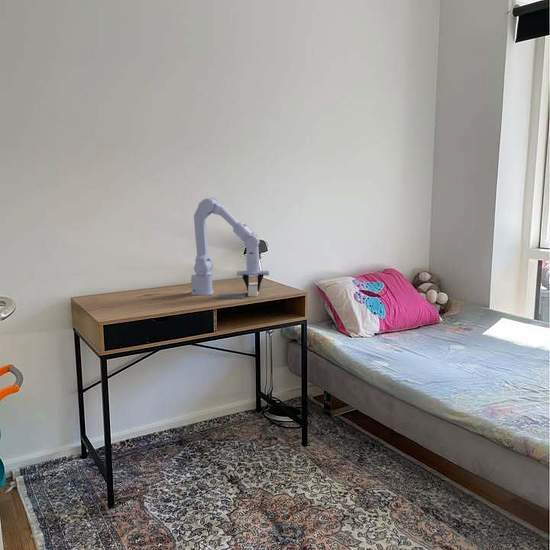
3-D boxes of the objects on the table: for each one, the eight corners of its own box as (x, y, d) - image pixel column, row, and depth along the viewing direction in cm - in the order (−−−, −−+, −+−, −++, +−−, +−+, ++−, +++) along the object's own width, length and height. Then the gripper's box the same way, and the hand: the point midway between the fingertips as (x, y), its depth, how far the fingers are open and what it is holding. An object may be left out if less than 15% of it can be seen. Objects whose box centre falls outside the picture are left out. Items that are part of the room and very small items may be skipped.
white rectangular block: (248, 296, 245) (248, 286, 245) (249, 292, 254) (249, 282, 253) (257, 296, 245) (257, 286, 244) (258, 292, 254) (258, 282, 253)
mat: (217, 298, 242) (217, 297, 242) (219, 294, 251) (219, 293, 250) (244, 298, 241) (244, 297, 241) (245, 293, 250) (245, 293, 250)
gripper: (235, 263, 243) (236, 293, 245) (268, 262, 242) (268, 292, 245) (237, 260, 250) (238, 289, 252) (269, 260, 249) (269, 289, 252)
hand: (253, 291), depth 249 cm, fingers closed on white rectangular block, 4 cm apart
